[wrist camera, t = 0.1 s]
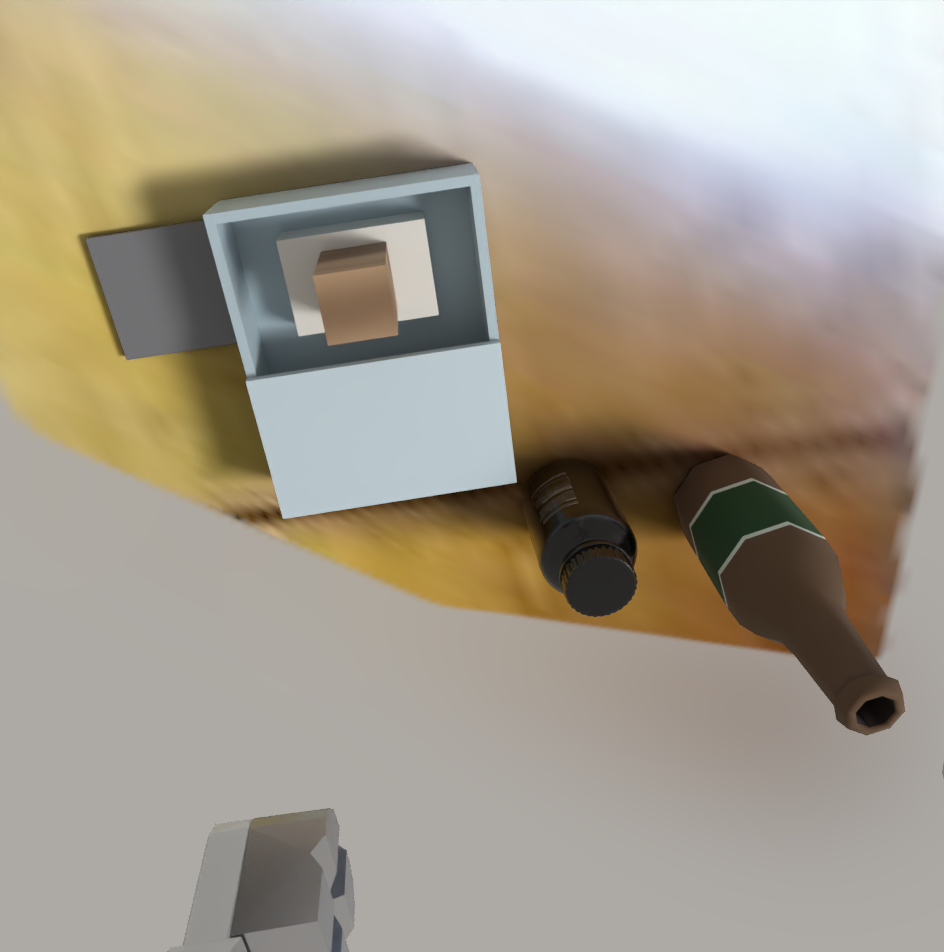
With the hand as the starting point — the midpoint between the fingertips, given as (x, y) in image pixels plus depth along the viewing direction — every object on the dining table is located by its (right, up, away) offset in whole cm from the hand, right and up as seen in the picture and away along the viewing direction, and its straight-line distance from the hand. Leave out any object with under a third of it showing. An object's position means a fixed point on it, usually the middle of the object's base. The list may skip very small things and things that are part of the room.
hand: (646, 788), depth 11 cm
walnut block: (-9, +16, +41) cm, 45 cm away
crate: (-9, +14, +46) cm, 49 cm away
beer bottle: (+17, +3, +55) cm, 57 cm away
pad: (-22, +16, +44) cm, 51 cm away
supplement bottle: (+5, +2, +54) cm, 54 cm away
